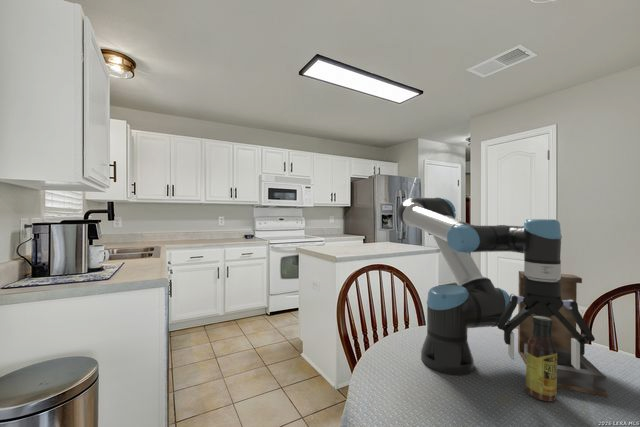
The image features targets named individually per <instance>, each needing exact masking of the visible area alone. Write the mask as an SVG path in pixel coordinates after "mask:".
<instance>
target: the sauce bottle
mask: <svg viewBox="0 0 640 427" xmlns="http://www.w3.org/2000/svg"><path fill="white" fill-rule="evenodd" d="M551 326H552V320H551V319H549V318H547V317H542V316H533V335H532V336H531V337H530V338H529V340H528V343H527V362H526V364H525V365H526V367H525V368H526V369H525V385H526V392H527V394H528V395H529V396H531V397H532V398H535V399H537V400H539V401H544V402H549V403H550V402H554V401H555V400H556V395H557V388H558V387H557V351H556V348H555V345H554V343H553V340H552V337H551V336H552V335H551Z"/></svg>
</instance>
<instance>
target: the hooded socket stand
mask: <svg viewBox="0 0 640 427" xmlns="http://www.w3.org/2000/svg"><path fill="white" fill-rule="evenodd" d="M525 278H527V277H526V276H525V275H524V270H523V271H522V270H518V294H517V296H521V297H523V296H524V279H525ZM558 281H559V282H560V283H561V300H568V299H572V300H573V301H575V302H577V295H578V293H577V290H578V289H577V284H582V283H583V278H582V277H580V276H578V275H575V274H564V273H561V279H560V280H558ZM517 305H518V312H517V314H518V313H519V312H520V311H521V310H522V308H523V307H525V306H526V305H525V303H524V302H523V301H521V302H520V304H517ZM559 312H560V313H561V314H562V315H563V316H564V317H565V319H566V320H567V321H568V322H569V323H570V324H571V325H572V326H573V327H574V328H575V329H576V330H577V323H576V321H575V319H574V318H573V316H572V314H571V313H570V311H569V309H567V308H566V307H565V305H563V307H562V308H561V309H560V310H559ZM533 316H538V315H535V314H532V315H531V316H529V317H527V318H526V319H525V320H524V321H523V322H522V323H520V324H519V325H518V326H517V353H518V355H519V356H520V357H521V359H522V360H523V362H524V364H525V365H526V362H527V343H528V340H529V338H530V337H531V336H532V335H533ZM542 317H547V316H544V315H542ZM547 318H549V319H551V320H552V326H551V335H552V336H551V337H552V340H553V343H554V345H555V348H556V351H557V387H556V388H559V389H564V390H570V391H576V392H581V393H586V394H590V395H591V394H592V395H598V396H603V397H607V398H608V397H609V392H608V391H607V387H606V386H607V376H606V375H604V373H602V372H601V371H600V370H599V369H598V368H597V367H596V366H595V365H594V364H593V363H592V362H591V361H590V360H589V359H588V358H586V357H585V356H584V355H580V370H578V369H576V368H575V367H574V366H573V365H572V364H571V338H574V339H576V338H575V337H574V336H573V335H572V333H571V332H570V331H569V330H568V329H567V328H566V327H565V326H564V325H563V324H562V323H561V322H560V321H559V320H558V318H557V317H556V316H555V315H553V316H551V317H547Z"/></svg>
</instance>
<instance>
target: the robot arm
mask: <svg viewBox="0 0 640 427" xmlns="http://www.w3.org/2000/svg"><path fill="white" fill-rule="evenodd" d="M397 217H398V220H399V221H400V222H401V223H402V224H404V226H407V227H409V228H418V229H420V230H422V231H424V232H426V233H427V234H429V235H431V236H432V237H433V239H434V240H435V242H436V244H437V246H438V249H439V250H440V252H441V254H442V256H443V258H444V261H445V262H446V265H447V266H448V268H449V270H450V272H451V275H452V277H453V279H454V280H455V282H456V284H440V285H436V286H433V287H431V288H430V289H429V290H428V293H427V297H426V298H427V299H426V307H427V309H426V311H427V312H426V317H427V318H426V319H427V320H426V323H427V324H426V329H427V330H426V336H425V340H424V342H423V344H422V347H421V349H420V350H421V351H420V358H421V361H422V363H423V364H424V365H426V366H427V367H428V368H431V369H433V370H435V371H438V372H441V373H443V374H448V375H457V376H458V375H460V376H461V375H468V374H470V373H472V372H473V371H474V364H475V362H474V357H473V354H472V351H471V348H470V347H471V346H470V345H469V341H468V331H469V330H468V329H475V328H476V329H477V328H489V327H491V328H494V327H495V328H496V327H497V329H499V330H501V331H503V341H504V344H505V345H508V349H507V350H508V351H507V352H508V357H509V358H510V359H511V360H515V333H514V332H513V331H514V330H515V329H516V328H518V325H519V324H520V323H522V322H523V321H524V320H525V319H526V318H527V317H529V316H531V315H532V314H535V315H538V316H542V315H544V316H547V317H551V316H553V315H555V316H556V317H557V318H558V320H559V321H560V322H561V323H562V324H563V325H564V326H565V327H566V328H567V329H568V330H569V331H570V332H571V333H572V335H573V336H574V337H575V338H576V339H574V338H571V364H572V365H573V366H574V367H575V368H576V369H578V370H580V355H583V356H584V355H585V350H586V349H585V347H586V346H585V345H586V344H587V343H588V342H589V341H590V342H594V341H595V339H596V338H595V336H594V335H593V333H592V331H591V329H590V328H589V326H588V324H587V323H586V321H585V319H584V318H583V316H582V314H581V312H580V311H579V306H578V302H577V301H576V302H575V301H573V300H572V299H568V300H561V283H560V282H559V281H558V280H560V279H561V274H562V260H561V248H562V233H561V232H562V231H561V223H560V221H559V220H557V219H550V218H549V219H547V218H546V219H545V218H543V219H539V218H538V219H536V218H533V219H531V218H530V219H529V218H527V219H525V220H524V223H523V225H508V224H506V225H505V224H503V225H502V224H497V225H474V224H471V223H468V222H464V221H463V220H461V219H460V220H459V219H457V218H456V217H457V214H456V207H455V205H454V204H453V203H452V201H450V200H449V199H447V198H442V197H415V196H414V197H410V198H409V197H408V198H406V199H404V200H403V201H402V202H401V203H400V204H399V206H398V207H397ZM491 252H493V253H494V252H496V253H497V252H508V253H510V252H511V253H520V254H523V255H524V256H523V258H524V262H523V263H524V266H523V268H524V269H523V271H524V275H525V276H526V277H527V278H525V279H524V296H523V297H521V296H518V295H517V294H516V295H515V293H510V294H509V293H508V292H507V291H506V290H504V289H502V288H500V287H496V286H495V285H494V283H493V282H492V280H491V279H490V277H489V278H488V277H487V276H484V275H482V273H481V271H480V269H479V267H478V266H477V264H476V262H475V260H474V259H473V257H472V255H471V253H491ZM521 301H523V302H524V303H525V305H526V306H525V307H523V308H522V310H521V311H520V312H519V313H518V312H517V314H515V316H513V313H514V311H515V310H516V308H517V305H518V304H520V302H521ZM563 305H565V307H566V308H567V309H569V311H570V313H571V314H572V316H573V318H574V319H575V321H576V326H578V328H579V329H580V331H581V333H582V334H581V333H580V332H579V331H578V330H577V328H576V329H575V328H574V327H573V326H572V325H571V324H570V323H569V322H568V321H567V320H566V319H565V317H564V316H563V315H562V314H561V313H560V312H559V310H560V309H561V308H562V307H563Z"/></svg>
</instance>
